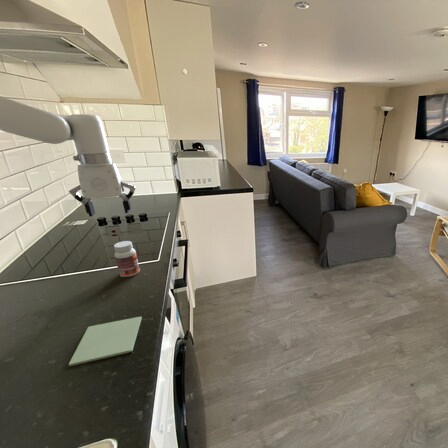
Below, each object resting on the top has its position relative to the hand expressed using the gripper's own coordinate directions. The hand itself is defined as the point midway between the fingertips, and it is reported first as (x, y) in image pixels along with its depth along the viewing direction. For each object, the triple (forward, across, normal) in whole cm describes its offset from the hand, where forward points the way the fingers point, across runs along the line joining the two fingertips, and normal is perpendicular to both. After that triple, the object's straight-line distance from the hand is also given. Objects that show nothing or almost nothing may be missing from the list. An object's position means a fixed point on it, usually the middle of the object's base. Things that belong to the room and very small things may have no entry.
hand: (110, 213), depth 84 cm
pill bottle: (+22, +1, 0) cm, 22 cm away
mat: (+22, +3, -33) cm, 40 cm away
